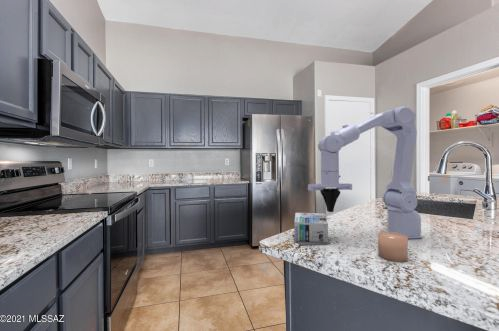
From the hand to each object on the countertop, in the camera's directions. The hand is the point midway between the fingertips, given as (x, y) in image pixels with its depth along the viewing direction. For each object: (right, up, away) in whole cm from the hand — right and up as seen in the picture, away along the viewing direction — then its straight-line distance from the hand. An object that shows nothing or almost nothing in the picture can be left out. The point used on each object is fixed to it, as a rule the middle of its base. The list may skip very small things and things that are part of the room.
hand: (330, 211), depth 82 cm
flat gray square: (-7, -10, 0) cm, 12 cm away
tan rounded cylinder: (+12, -10, -15) cm, 22 cm away
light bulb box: (-1, -6, +1) cm, 6 cm away
